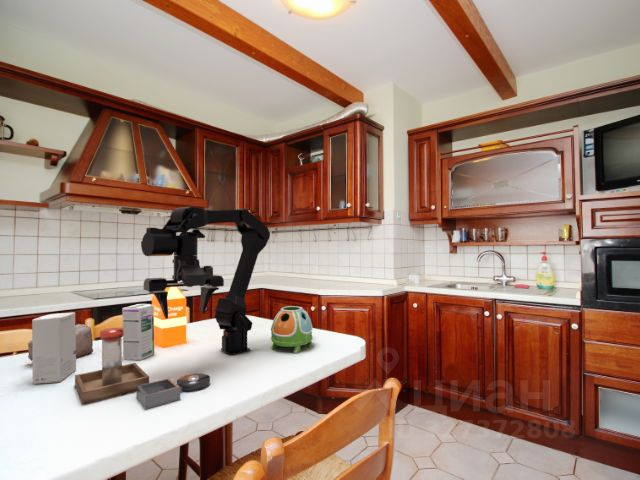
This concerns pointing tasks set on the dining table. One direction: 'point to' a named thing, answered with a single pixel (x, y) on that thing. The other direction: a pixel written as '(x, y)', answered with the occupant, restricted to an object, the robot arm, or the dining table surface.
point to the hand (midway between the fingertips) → (185, 316)
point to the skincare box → (53, 347)
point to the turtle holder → (291, 328)
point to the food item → (82, 341)
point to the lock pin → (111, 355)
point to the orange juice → (170, 319)
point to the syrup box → (138, 331)
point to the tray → (93, 390)
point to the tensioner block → (169, 389)
